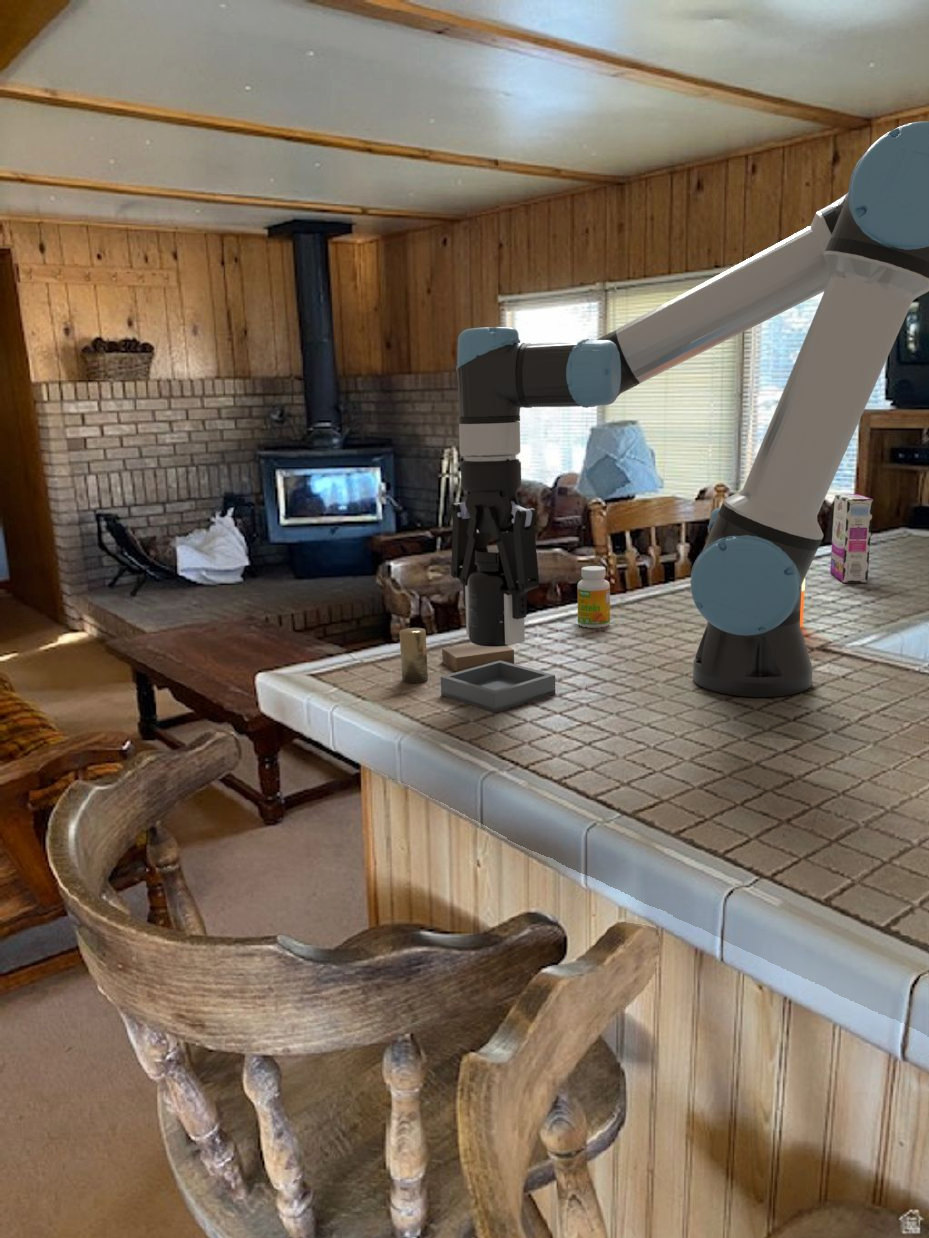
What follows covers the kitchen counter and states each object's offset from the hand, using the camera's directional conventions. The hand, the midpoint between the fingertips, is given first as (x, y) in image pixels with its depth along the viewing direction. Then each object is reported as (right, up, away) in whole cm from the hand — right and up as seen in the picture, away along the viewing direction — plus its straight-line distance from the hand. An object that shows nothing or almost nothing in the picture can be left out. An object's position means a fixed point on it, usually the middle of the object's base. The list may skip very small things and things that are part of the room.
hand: (495, 637), depth 123 cm
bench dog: (-11, -6, +10) cm, 16 cm away
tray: (0, -7, +2) cm, 8 cm away
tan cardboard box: (-2, -4, +17) cm, 18 cm away
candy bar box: (+73, +10, +67) cm, 99 cm away
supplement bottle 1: (0, -1, 0) cm, 1 cm away
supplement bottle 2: (+18, +1, +37) cm, 41 cm away
